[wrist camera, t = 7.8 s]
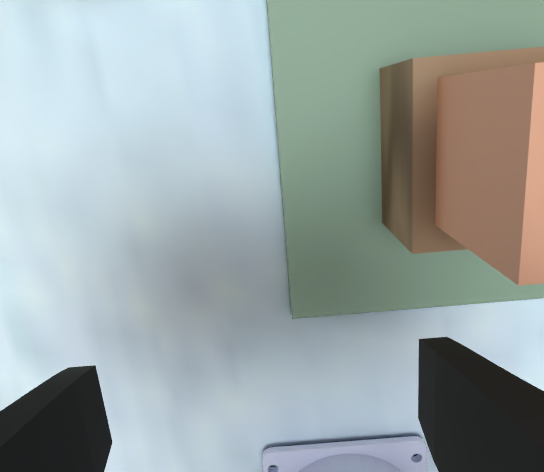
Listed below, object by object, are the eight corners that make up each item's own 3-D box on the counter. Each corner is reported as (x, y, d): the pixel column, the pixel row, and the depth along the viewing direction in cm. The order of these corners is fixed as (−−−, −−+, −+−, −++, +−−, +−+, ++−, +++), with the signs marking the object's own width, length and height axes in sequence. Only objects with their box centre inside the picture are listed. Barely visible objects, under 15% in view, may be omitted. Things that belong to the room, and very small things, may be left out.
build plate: (603, 287, 20) (613, 292, 20) (291, 312, 20) (292, 318, 20) (651, -74, 16) (666, -80, 16) (263, -38, 16) (263, -43, 16)
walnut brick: (528, 210, 19) (596, 238, 15) (382, 222, 19) (412, 254, 15) (540, 54, 17) (621, 39, 13) (379, 68, 17) (412, 58, 13)
